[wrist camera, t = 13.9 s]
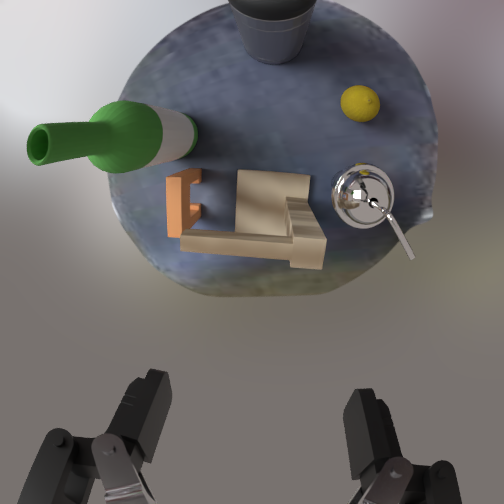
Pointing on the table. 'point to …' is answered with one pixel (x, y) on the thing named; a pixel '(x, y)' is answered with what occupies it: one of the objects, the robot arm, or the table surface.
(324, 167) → the table surface
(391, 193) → the cup with straw
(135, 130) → the wine bottle
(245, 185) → the hook stand
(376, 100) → the lemon
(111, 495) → the robot arm
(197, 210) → the c link
